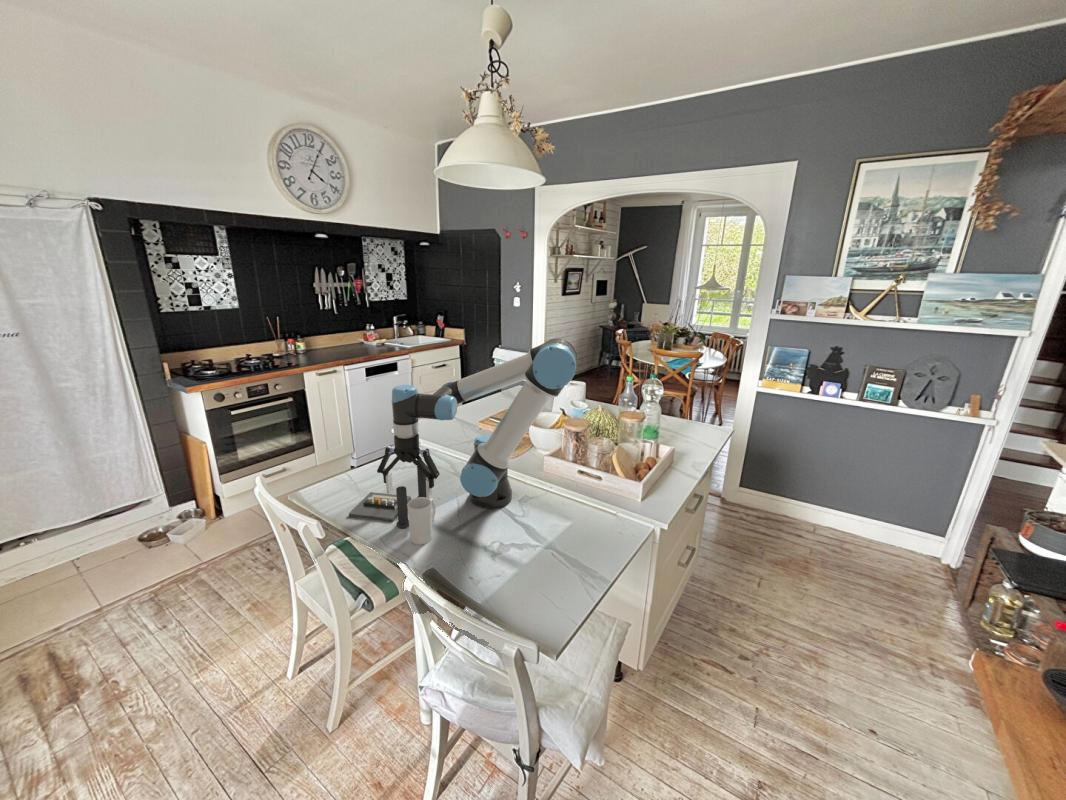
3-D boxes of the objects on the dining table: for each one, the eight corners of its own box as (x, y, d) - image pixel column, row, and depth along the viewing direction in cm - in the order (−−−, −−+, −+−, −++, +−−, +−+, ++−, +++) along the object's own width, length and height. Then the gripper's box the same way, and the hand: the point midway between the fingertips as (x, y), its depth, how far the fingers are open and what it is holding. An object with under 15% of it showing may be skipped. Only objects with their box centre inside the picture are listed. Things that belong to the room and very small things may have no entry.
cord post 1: (412, 522, 135) (410, 486, 131) (406, 529, 131) (404, 492, 127) (400, 520, 135) (397, 484, 131) (394, 527, 131) (392, 491, 128)
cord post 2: (430, 496, 150) (429, 464, 146) (426, 502, 146) (424, 469, 142) (419, 495, 150) (418, 463, 147) (415, 501, 147) (413, 468, 143)
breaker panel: (411, 499, 148) (410, 491, 147) (392, 521, 134) (392, 512, 133) (370, 495, 150) (370, 487, 149) (348, 516, 136) (348, 507, 135)
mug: (421, 548, 122) (420, 511, 119) (404, 540, 125) (402, 505, 122) (444, 530, 131) (443, 496, 127) (427, 524, 134) (426, 490, 130)
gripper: (448, 433, 135) (449, 492, 141) (374, 426, 138) (379, 484, 144) (440, 442, 128) (441, 504, 134) (363, 434, 131) (367, 495, 137)
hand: (409, 494), depth 139 cm, fingers open, 13 cm apart
